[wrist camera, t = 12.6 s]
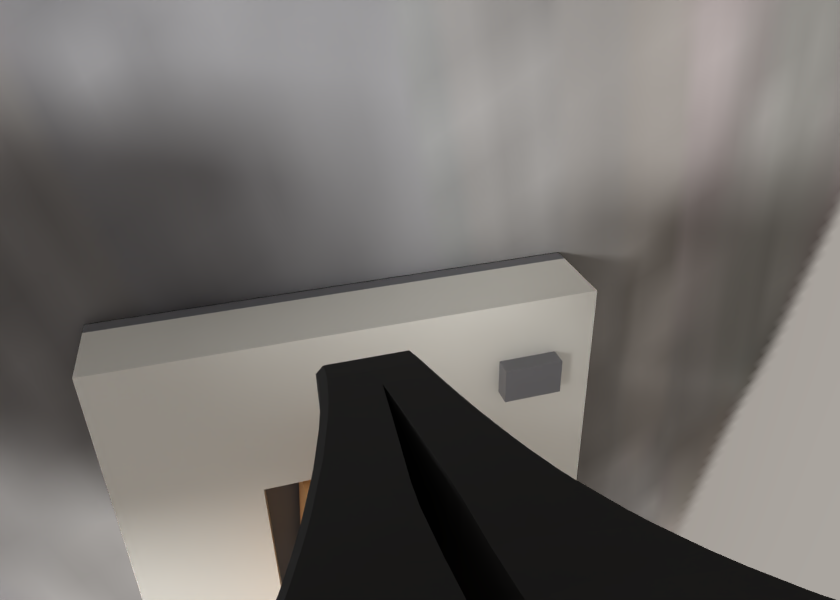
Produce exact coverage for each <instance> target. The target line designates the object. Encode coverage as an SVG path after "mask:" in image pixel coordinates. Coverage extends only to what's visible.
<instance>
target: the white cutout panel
mask: <svg viewBox="0 0 840 600" xmlns="http://www.w3.org/2000/svg"><path fill="white" fill-rule="evenodd" d="M596 298H597V290H596V289H595V288H594V287H593V286H592V285H591V284H590V283H589V282H588V281H587V280H586V279H585V278H584V277H583V276H582V275H581V274H580V273H579V272H578V271H577V270H576V269H575V268H574V267H573V266H572V265H571V264H570V263H569V262H568V261H567V260H566V259H565V258H564V257H563V256H561V255H560V254H559V253H552V254H545V255H539V256H532V257H525V258H519V259H512V260H506V261H499V262H493V263H486V264H480V265H473V266H467V267H460V268H453V269H447V270H440V271H434V272H427V273H421V274H414V275H408V276H401V277H394V278H388V279H381V280H375V281H368V282H362V283H355V284H349V285H342V286H336V287H329V288H322V289H316V290H309V291H303V292H296V293H290V294H283V295H277V296H270V297H263V298H257V299H250V300H244V301H237V302H231V303H224V304H218V305H211V306H205V307H198V308H191V309H185V310H178V311H172V312H165V313H159V314H152V315H146V316H139V317H132V318H126V319H119V320H113V321H106V322H100V323H93V324H87V325H84V327H83V331H82V336H81V341H80V345H79V350H78V354H77V359H76V363H75V368H74V372H73V377H72V380H73V383H74V386H75V389H76V392H77V395H78V399H79V402H80V405H81V408H82V411H83V414H84V417H85V421H86V424H87V427H88V430H89V433H90V436H91V439H92V443H93V446H94V449H95V452H96V455H97V458H98V461H99V465H100V468H101V471H102V474H103V477H104V480H105V483H106V487H107V490H108V493H109V496H110V499H111V502H112V505H113V509H114V512H115V515H116V518H117V521H118V524H119V527H120V531H121V534H122V537H123V540H124V543H125V546H126V549H127V553H128V556H129V559H130V562H131V565H132V568H133V571H134V575H135V578H136V581H137V584H138V587H139V590H140V594H141V597H142V600H276V599H277V596H278V593H279V591H280V588H281V585H282V582H283V579H284V576H285V573H286V570H287V567H288V564H289V561H290V558H291V555H292V552H293V548H294V545H295V542H296V538H297V535H298V531H299V528H300V503H299V482H303V481H308V480H311V477H312V472H313V467H314V460H315V453H316V446H317V438H318V431H319V418H320V407H319V399H318V390H317V381H316V373H317V372H318V371H319V370H320V368H321V367H322V366H323V365H328V364H334V363H340V362H345V361H351V360H357V359H362V358H368V357H374V356H380V355H385V354H391V353H397V352H402V351H408V350H409V351H411V352H412V353H413V354H414V355H416V356H417V357H418V358H419V359H420V360H422V361H423V362H424V363H425V364H426V365H427V366H428V367H429V368H430V369H432V370H433V371H434V372H435V373H436V374H437V375H438V376H439V377H441V378H442V379H443V380H444V381H445V382H446V383H447V384H449V385H450V386H451V387H452V388H453V389H454V390H456V391H457V392H458V393H459V394H460V395H461V396H463V397H464V398H465V399H466V400H467V401H468V402H470V403H471V404H472V405H473V406H475V407H476V408H477V409H478V410H479V411H481V412H482V413H483V414H484V415H486V416H487V417H488V418H490V419H491V420H492V421H493V422H495V423H496V424H497V425H498V426H500V427H501V428H502V429H504V430H505V431H506V432H507V433H509V434H510V435H511V436H513V437H514V438H515V439H517V440H518V441H519V442H521V443H522V444H523V445H525V446H526V447H528V448H529V449H530V450H532V451H533V452H535V453H536V454H537V455H539V456H540V457H542V458H543V459H545V460H546V461H548V462H549V463H551V464H552V465H553V466H555V467H556V468H558V469H559V470H561V471H562V472H564V473H566V474H567V475H569V476H570V477H572V478H574V479H575V480H576V479H577V470H578V461H579V452H580V443H581V434H582V425H583V416H584V407H585V398H586V389H587V379H588V370H589V361H590V352H591V343H592V334H593V325H594V316H595V307H596Z"/></svg>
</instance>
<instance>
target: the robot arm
mask: <svg viewBox="0 0 840 600" xmlns="http://www.w3.org/2000/svg"><path fill="white" fill-rule="evenodd" d="M316 381H317V390H318V399H319V407H320V418H319V431H318V438H317V446H316V453H315V460H314V467H313V472H312V477H311V481H310V486H309V490H308V494H307V499H306V503H305V507H304V512H303V516H302V520H301V524H300V528H299V531H298V535H297V538H296V542H295V545H294V548H293V552H292V555H291V558H290V561H289V564H288V567H287V570H286V573H285V576H284V579H283V582H282V585H281V588H280V591H279V593H278V596H277V599H276V600H835V599H832V598H829V597H826V596H823V595H820V594H817V593H815V592H812V591H809V590H806V589H804V588H801V587H799V586H796V585H794V584H791V583H788V582H786V581H783V580H781V579H778V578H776V577H773V576H771V575H768V574H766V573H763V572H760V571H758V570H755V569H753V568H750V567H747V566H745V565H743V564H741V563H738V562H736V561H733V560H731V559H729V558H727V557H724V556H722V555H720V554H717V553H715V552H713V551H710V550H708V549H706V548H704V547H702V546H700V545H698V544H696V543H693V542H691V541H689V540H687V539H685V538H683V537H681V536H679V535H677V534H675V533H673V532H670V531H668V530H666V529H664V528H662V527H660V526H658V525H656V524H654V523H652V522H650V521H648V520H646V519H644V518H642V517H640V516H638V515H636V514H635V513H633V512H631V511H629V510H627V509H625V508H623V507H622V506H620V505H618V504H616V503H615V502H613V501H611V500H609V499H608V498H606V497H604V496H603V495H601V494H599V493H597V492H596V491H594V490H592V489H590V488H589V487H587V486H585V485H583V484H582V483H580V482H578V481H577V480H575V479H574V478H572V477H570V476H569V475H567V474H566V473H564V472H562V471H561V470H559V469H558V468H556V467H555V466H553V465H552V464H551V463H549V462H548V461H546V460H545V459H543V458H542V457H540V456H539V455H537V454H536V453H535V452H533V451H532V450H530V449H529V448H528V447H526V446H525V445H523V444H522V443H521V442H519V441H518V440H517V439H515V438H514V437H513V436H511V435H510V434H509V433H507V432H506V431H505V430H504V429H502V428H501V427H500V426H498V425H497V424H496V423H495V422H493V421H492V420H491V419H490V418H488V417H487V416H486V415H484V414H483V413H482V412H481V411H479V410H478V409H477V408H476V407H475V406H473V405H472V404H471V403H470V402H468V401H467V400H466V399H465V398H464V397H463V396H461V395H460V394H459V393H458V392H457V391H456V390H454V389H453V388H452V387H451V386H450V385H449V384H447V383H446V382H445V381H444V380H443V379H442V378H441V377H439V376H438V375H437V374H436V373H435V372H434V371H433V370H432V369H430V368H429V367H428V366H427V365H426V364H425V363H424V362H423V361H422V360H420V359H419V358H418V357H417V356H416V355H414V354H413V353H412V352H411V351H409V350H408V351H402V352H397V353H391V354H385V355H380V356H374V357H368V358H362V359H357V360H351V361H345V362H340V363H334V364H328V365H323V366H322V367H321V368H320V370H319V371H318V372H317V373H316Z"/></svg>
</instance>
